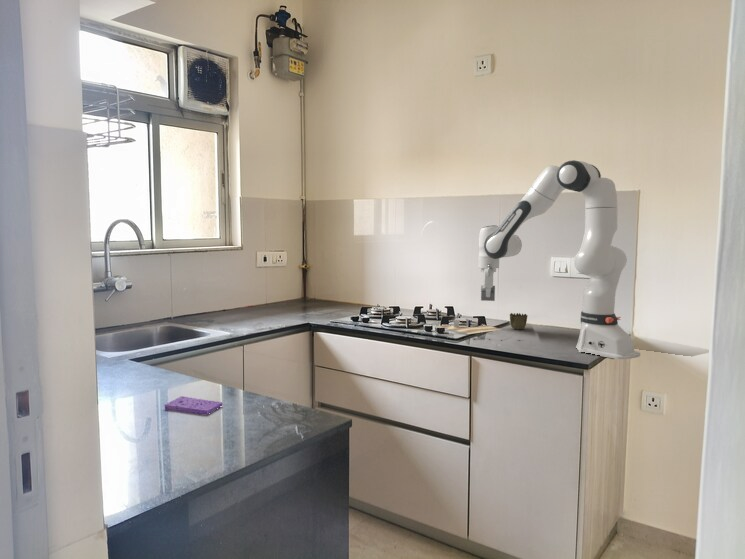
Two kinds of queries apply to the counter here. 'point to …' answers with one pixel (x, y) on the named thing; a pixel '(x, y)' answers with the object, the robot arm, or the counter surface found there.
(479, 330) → the board
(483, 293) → the grey cube
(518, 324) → the cup
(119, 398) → the counter surface
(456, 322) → the shaft
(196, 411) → the sponges
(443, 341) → the counter surface
